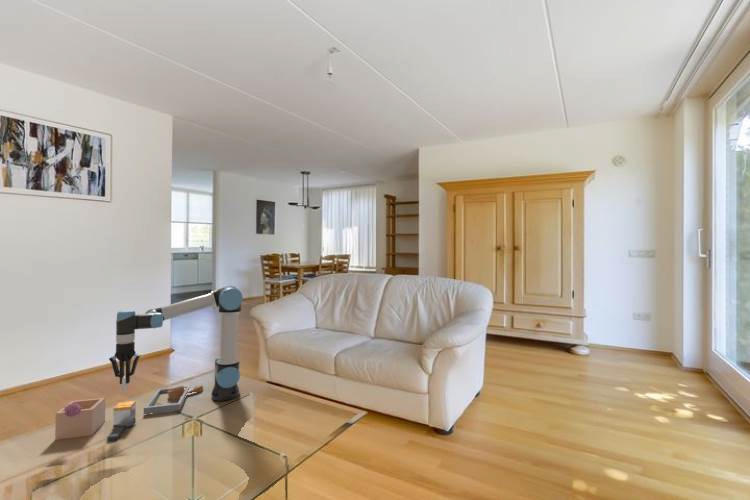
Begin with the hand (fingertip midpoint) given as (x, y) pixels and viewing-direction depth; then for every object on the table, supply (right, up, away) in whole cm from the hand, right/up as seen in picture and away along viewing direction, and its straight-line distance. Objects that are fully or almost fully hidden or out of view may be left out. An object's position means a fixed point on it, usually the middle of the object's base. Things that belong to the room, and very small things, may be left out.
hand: (124, 390), depth 173 cm
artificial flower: (-20, -12, 0) cm, 24 cm away
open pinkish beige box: (-17, -17, -5) cm, 25 cm away
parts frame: (+6, -18, +26) cm, 32 cm away
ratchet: (+2, -18, -5) cm, 18 cm away
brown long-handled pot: (+12, -18, +35) cm, 41 cm away
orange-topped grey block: (0, -15, 0) cm, 15 cm away
